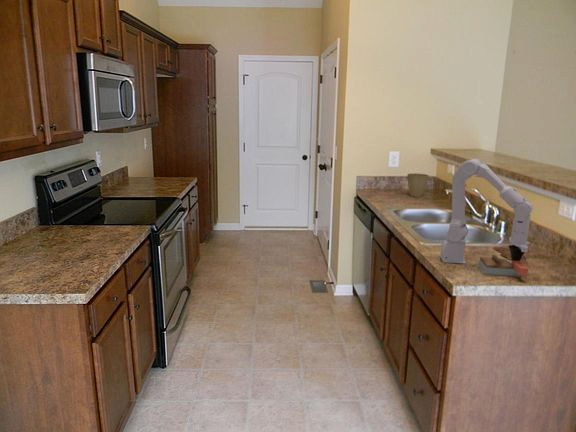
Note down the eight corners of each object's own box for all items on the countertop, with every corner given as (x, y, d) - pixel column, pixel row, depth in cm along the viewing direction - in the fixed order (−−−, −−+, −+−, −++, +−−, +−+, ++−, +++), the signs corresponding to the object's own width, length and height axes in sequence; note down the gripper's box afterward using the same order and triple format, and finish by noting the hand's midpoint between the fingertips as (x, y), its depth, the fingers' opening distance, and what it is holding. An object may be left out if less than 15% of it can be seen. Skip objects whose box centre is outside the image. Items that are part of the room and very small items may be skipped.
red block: (518, 274, 173) (519, 268, 173) (511, 266, 182) (512, 260, 181) (527, 274, 173) (528, 268, 172) (519, 266, 181) (520, 260, 181)
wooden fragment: (489, 246, 218) (489, 244, 218) (512, 247, 217) (513, 245, 217) (512, 265, 193) (512, 263, 193) (538, 266, 192) (538, 264, 192)
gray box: (484, 274, 181) (485, 267, 180) (477, 266, 190) (478, 259, 189) (521, 276, 179) (522, 269, 178) (513, 268, 188) (514, 262, 187)
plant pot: (430, 197, 330) (432, 175, 326) (413, 198, 326) (414, 176, 322) (419, 193, 344) (420, 172, 340) (401, 194, 340) (403, 173, 336)
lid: (486, 267, 180) (487, 261, 179) (480, 259, 189) (480, 253, 188) (512, 268, 179) (513, 262, 178) (505, 261, 187) (506, 255, 187)
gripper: (538, 236, 171) (532, 270, 175) (523, 226, 185) (519, 258, 189) (518, 235, 172) (513, 269, 176) (505, 226, 186) (501, 257, 190)
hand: (515, 263), depth 182 cm, fingers closed
